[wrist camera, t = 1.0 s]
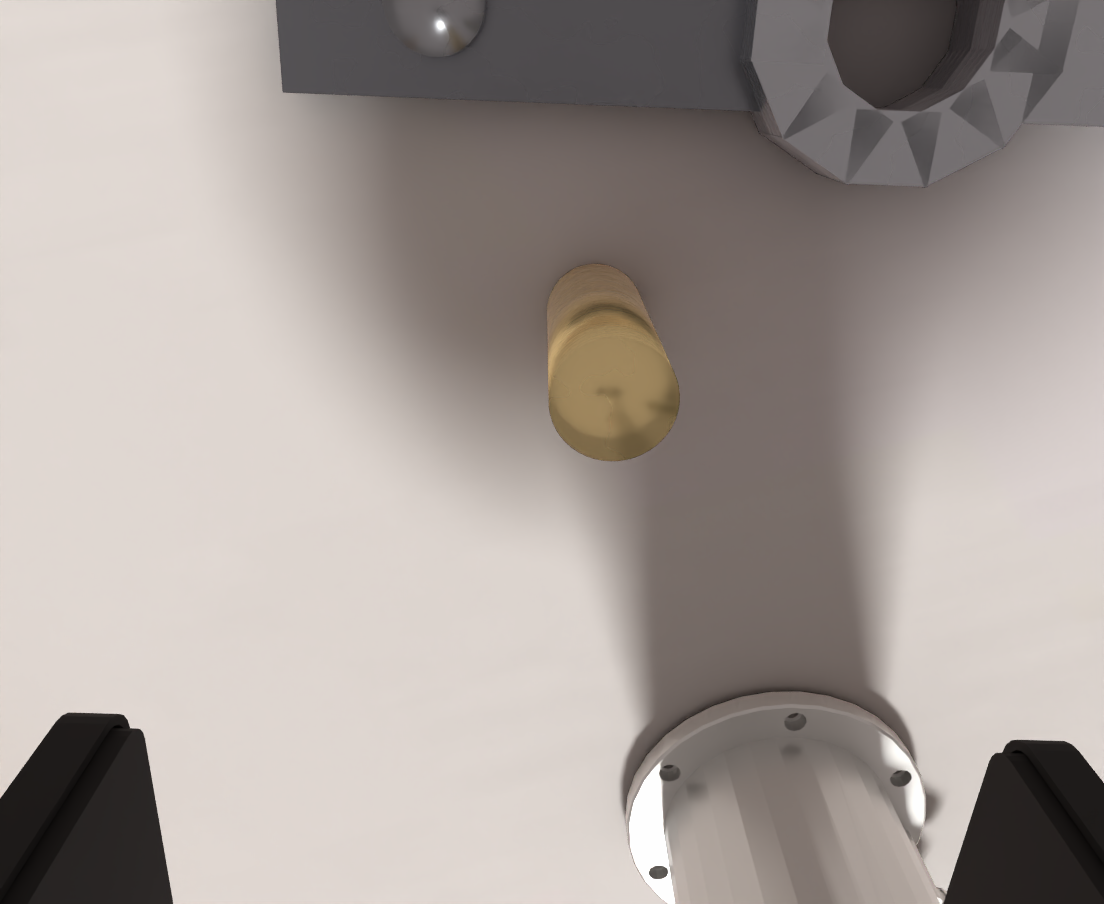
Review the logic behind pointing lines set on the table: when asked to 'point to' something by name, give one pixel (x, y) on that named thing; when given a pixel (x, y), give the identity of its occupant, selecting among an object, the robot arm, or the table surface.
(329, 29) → the lower chain end
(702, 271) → the table surface
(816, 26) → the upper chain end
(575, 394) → the brass pin
